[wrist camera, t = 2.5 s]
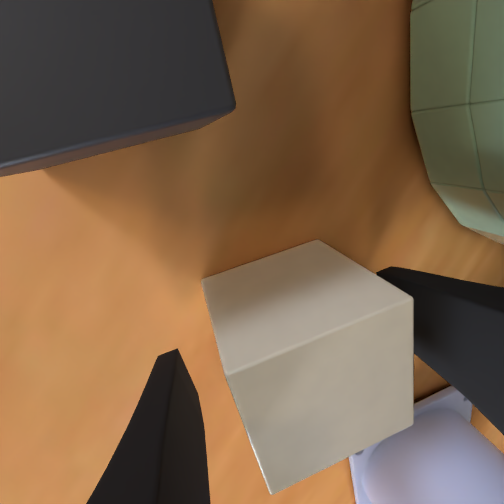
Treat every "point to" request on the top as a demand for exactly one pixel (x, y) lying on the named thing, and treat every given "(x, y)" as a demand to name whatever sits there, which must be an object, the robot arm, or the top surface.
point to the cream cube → (313, 357)
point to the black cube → (105, 76)
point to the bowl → (461, 106)
